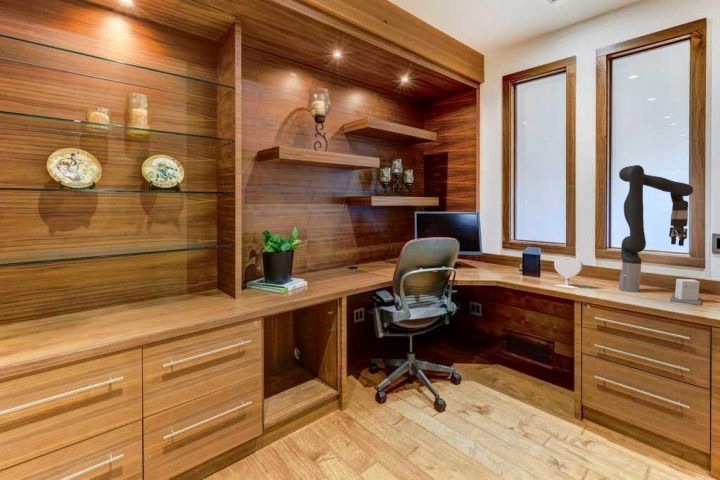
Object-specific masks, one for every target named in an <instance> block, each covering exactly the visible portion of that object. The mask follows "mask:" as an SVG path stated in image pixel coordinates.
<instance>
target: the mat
mask: <svg viewBox="0 0 720 480" xmlns="http://www.w3.org/2000/svg"><path fill="white" fill-rule="evenodd" d="M669 302H673V303H678V304H679V303H681V304H685V305H686V304H687V305H693V306H701V304H702V298H701V297H698V300H681V299H678V298H676V297H675V293H672V294H671V296H670V299H669Z"/></svg>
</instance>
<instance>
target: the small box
mask: <svg viewBox="0 0 720 480" xmlns="http://www.w3.org/2000/svg"><path fill="white" fill-rule="evenodd" d="M700 284H701V283H700V281H699V280H697V279H689V278H688V279H687V278H676V279H675V292H674V294H675V297H676V298H678V299H681V300H698V298H699V294H700V293H699V292H700Z"/></svg>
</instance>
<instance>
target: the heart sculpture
mask: <svg viewBox="0 0 720 480" xmlns="http://www.w3.org/2000/svg"><path fill="white" fill-rule="evenodd" d="M553 266H554V269H555V271H556V272H557V273H558V274H559V275H560V276H562V277H563V278H565V281H564V284H562V283H561V284H559V283H558V284H555V286H556V287H563V288H569V289H574V288H578V289H579V286H578V287H577V286H573V285H570V278H572V277H575V276H577V275H578V274H580V273H581V272H582V271H583V268H584V263H583V261H581V260H579V259H577V258H570V259H569V258H567V257H560V258H557V259H554V262H553Z"/></svg>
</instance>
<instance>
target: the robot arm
mask: <svg viewBox="0 0 720 480" xmlns="http://www.w3.org/2000/svg"><path fill="white" fill-rule="evenodd" d="M620 169H621V170H619V173H618V176H619V178H620V180H621V181H623V182H626V183H627V182H628V183H629V186H628V187H629V189H628V194H627V195H626V197H625V200H624V202H623V215H624V219H625V221H626V223H627V226H628V228H629V235H628V236H625V237H624V238H623V240H622V242H621V248H620V249H621V250H620V251H621V252H620V253H621V254H620V255H621V260H622V262H621V263H622V264H621V273H619V282H618V283H619V284H618V289H619V290H620V291H623V292H631V293H638V292H640V285H641V273H642V272H641V271H642V258H641V257H640V255H639V253H641V252H643V251H644V250H645V249H646V246H647V241H646V236H645V235H646V234H645V227H644V225H645V224H644V221H645V220H644V186H646V187H650V188H653V189H654V190H655V189H656V190H659V191H662V192H665V193H670V199H671V202H672V206H671V207H672V209H671V210H672V211H671V214H670V215H671V216H670V224H669V225H670V227H669V235H668V236H669V237H670V239H671V240H670V244H671V245H673V246H674V245H677V238H678V245H677V246H679V247H684V245H685V240H687V238H688V228H685V227H687V226H688V219H689V201H687V200H685V199H684V197H689V196H690V195H692V194H693V192H694V187H693V186H692V185H690V184H689V183H684V182H679V181H675V180H672V179H669V178H666V177H662V176H657V175H651V174H645V170H644V168H643V167H642V166H641V165H639V164H635V165H628V166H625V167H622V168H620Z"/></svg>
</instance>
